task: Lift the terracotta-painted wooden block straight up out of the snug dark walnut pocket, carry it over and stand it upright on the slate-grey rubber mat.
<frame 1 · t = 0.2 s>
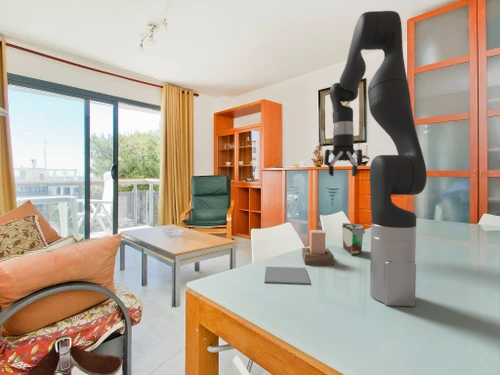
hand: (342, 176, 106), 29 cm above the table, tool pointing down, fingers open, 8 cm apart
walnut pocket: (317, 260, 91), on the table
terracotta block: (317, 246, 91), in the walnut pocket
rubber mat: (286, 275, 77), on the table
food container: (355, 252, 102), on the table
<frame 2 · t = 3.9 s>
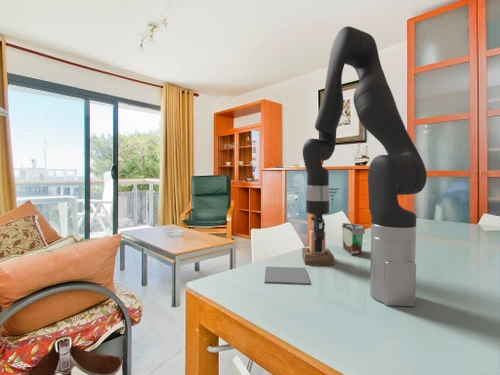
hand: (317, 249, 91), 4 cm above the table, tool pointing down, fingers closed on terracotta block, 4 cm apart
terracotta block: (317, 245, 91), in the walnut pocket, touching gripper
everything else where it was.
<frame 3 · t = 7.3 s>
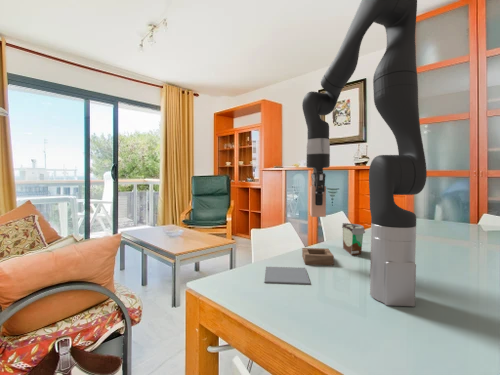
hand: (317, 204, 91), 19 cm above the table, tool pointing down, fingers closed on terracotta block, 4 cm apart
terracotta block: (317, 201, 91), point 20 cm above the table, touching gripper
everything else where it was.
when the fingers open (6 cm above the table, at t = 10.9 s): terracotta block drops 1 cm, resting on rubber mat.
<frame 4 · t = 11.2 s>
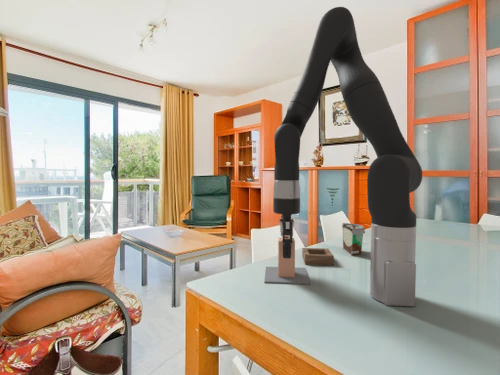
hand: (286, 253, 77), 6 cm above the table, tool pointing down, fingers open, 7 cm apart
terracotta block: (286, 256, 77), on the rubber mat
everything else where it was.
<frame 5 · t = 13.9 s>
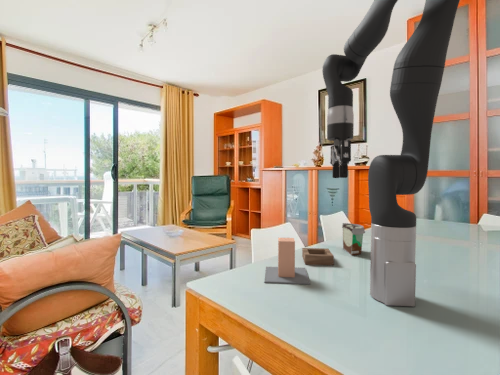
hand: (339, 177, 81), 28 cm above the table, tool pointing down, fingers open, 8 cm apart
nothing on the table moved.
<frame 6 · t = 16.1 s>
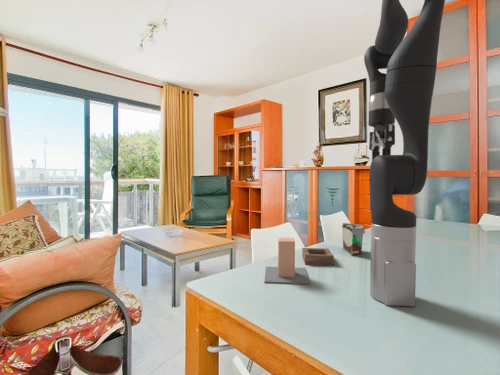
hand: (380, 161, 85), 33 cm above the table, tool pointing down, fingers open, 8 cm apart
nothing on the table moved.
at the end: terracotta block inside the target area on the rubber mat (0.1 cm from its centre), point 5.4 cm above the rubber mat's base; terracotta block tilted 0°; terracotta block touching rubber mat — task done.
